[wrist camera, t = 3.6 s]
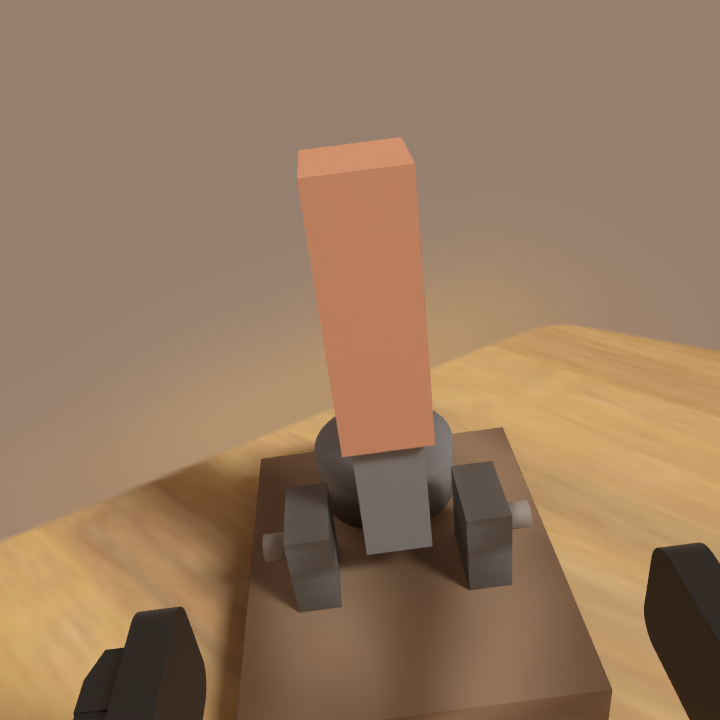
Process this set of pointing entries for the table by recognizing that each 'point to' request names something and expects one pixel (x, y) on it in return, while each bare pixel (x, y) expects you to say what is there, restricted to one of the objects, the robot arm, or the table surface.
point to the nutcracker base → (412, 598)
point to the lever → (374, 327)
